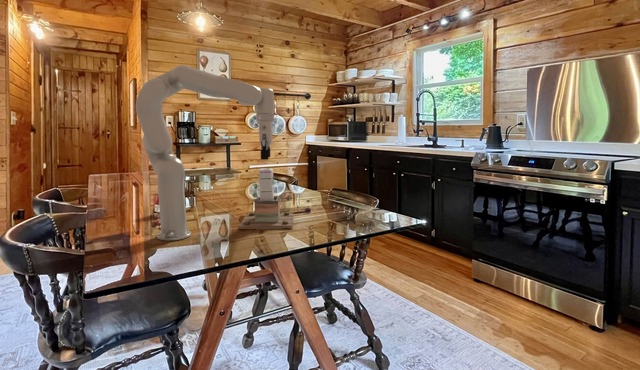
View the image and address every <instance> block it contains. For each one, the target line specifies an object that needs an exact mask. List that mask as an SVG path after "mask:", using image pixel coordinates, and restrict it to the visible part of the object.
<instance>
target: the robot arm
mask: <svg viewBox="0 0 640 370" xmlns="http://www.w3.org/2000/svg"><path fill="white" fill-rule="evenodd" d="M182 90H188V91H190V92H195V93H199V94H201V95H204V96H209V97H212V98H218V99H219V98H220V99H230V100H235V101H236V102H237V103H239V105H240V106H241V105H242V106H247V107H249V106H255V117H256V118H255V120H256V122H258V126H259V127H258V136H259V139H258V140H259V144H260V160H265V161H266V160H268V161H269V158H271V145H273V143H274V142H273V124H272V123H273V122H274V123H275V93H274V90H273V89H272V88H268V87H267V88H265V87H258V86H257V85H253V84H250V83H247V82H244V81H240V80H237V79H233V78H229V77H225V76H221V75H217V74H214V73H210V72H207V71H204V70H201V69H198V68H195V67H192V66H189V65H185V64H183V65H181V64H180V65H178V66H176V67H174V68H172V69H170V70H169V71H166V72H165V73H163V74H161V75H158V76H156V77H154V78H151V79H149V80H148V81H146V82H145V83H144V84H143V85H142V87H141V89H140V91H139V92H138V94H137V96H136V97H137V98H136V102H135V112H136V116H137V119H138V122H139V124H140V128H141V130H142V133H143V136H142V144H143V146H144V147H143V148H144V149H145V150H144V151H145V152H146V155H147V157H148V159H149V162H150V165H151V167H152V169H153V172H154V173H155V174H156V175H157V194H158V195H157V197H158V205H159V220H160V221H159V223H160V232H158V233H157V234H156V235H157V236H156V238H157V239H158V240H160V241H167V242H168V241H178V240H184V239H186V238H189V237H191V235H192V231H191V230H189V229H187V227H188V225H187V213H186V212H187V211H186V209H187V208H186V206H185V201H186V195H185V173H186V171H185V165H184V164H183V162H182V161H181V159H180V158H178V157H176V156H175V152H174V151H173V149H172V147H173V138H172V135H171V133H170V131H169V128H168V125H167V123H166V121H165V117H164V114H163V110H162V106H163V103H164V101H165V100H167V98H170V97H171V96H173V95H175V94H177V93H179V92H181V91H182Z"/></svg>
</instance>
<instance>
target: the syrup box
mask: <svg viewBox="0 0 640 370" xmlns="http://www.w3.org/2000/svg"><path fill="white" fill-rule="evenodd" d="M258 185H259V187H258V188H259V197H260V201H274V197H275V190H274V168H271V167H270V168H269V167H265V168H260V169H259V170H258Z"/></svg>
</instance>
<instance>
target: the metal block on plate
mask: <svg viewBox="0 0 640 370" xmlns="http://www.w3.org/2000/svg"><path fill="white" fill-rule="evenodd" d="M280 201H281V199H280V196H274V201H260V196H256V198H255V199H254V212H249V213H245V215H244V218H242V221H241V222H240V224H239V225H238V230H239V229H256V230H283V229H282V228H292V229H293V225H292V224H293V223H294V212H289V211H284V212H281V211H280V210H281V209H280V207H281V204H280Z"/></svg>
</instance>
